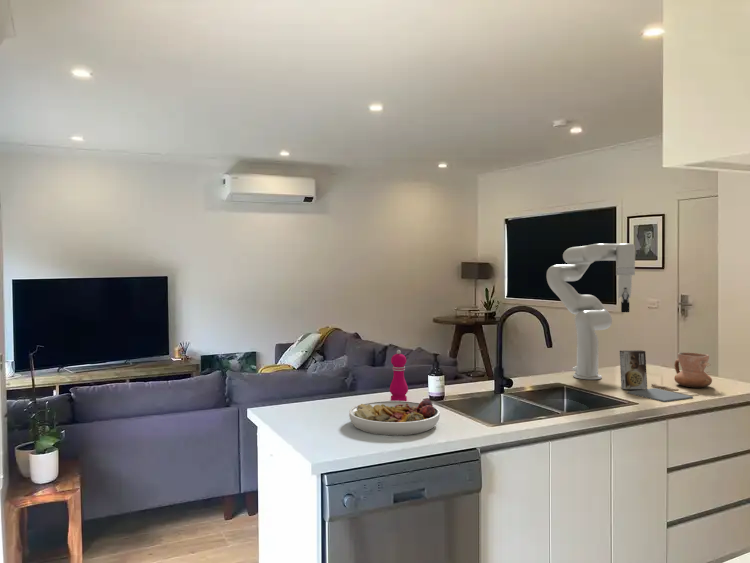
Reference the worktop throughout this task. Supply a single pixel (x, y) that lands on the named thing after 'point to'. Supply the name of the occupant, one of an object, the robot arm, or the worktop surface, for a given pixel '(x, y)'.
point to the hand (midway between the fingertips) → (625, 311)
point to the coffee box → (633, 369)
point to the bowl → (395, 417)
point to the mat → (660, 394)
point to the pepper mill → (398, 378)
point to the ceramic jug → (692, 370)
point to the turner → (675, 390)
